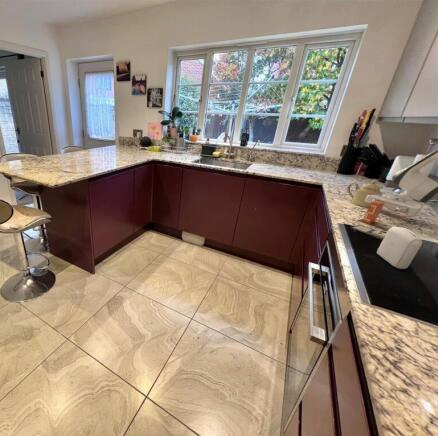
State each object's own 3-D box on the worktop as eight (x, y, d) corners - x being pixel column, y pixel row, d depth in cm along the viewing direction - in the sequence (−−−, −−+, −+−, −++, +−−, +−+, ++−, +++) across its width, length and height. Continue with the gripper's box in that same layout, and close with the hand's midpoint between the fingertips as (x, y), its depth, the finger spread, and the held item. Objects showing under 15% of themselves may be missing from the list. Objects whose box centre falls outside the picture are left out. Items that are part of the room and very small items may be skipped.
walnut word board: (413, 236, 101) (415, 232, 100) (405, 239, 98) (407, 236, 97) (364, 219, 115) (366, 216, 114) (355, 222, 112) (357, 218, 111)
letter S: (374, 222, 111) (384, 202, 106) (369, 223, 109) (379, 204, 104) (367, 219, 113) (376, 200, 109) (361, 221, 111) (371, 201, 107)
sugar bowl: (343, 203, 137) (354, 178, 130) (342, 198, 145) (352, 174, 139) (377, 209, 129) (390, 183, 123) (373, 203, 138) (385, 179, 131)
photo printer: (373, 252, 87) (389, 222, 82) (386, 253, 87) (403, 224, 81) (394, 268, 78) (413, 236, 73) (409, 270, 78) (429, 238, 72)
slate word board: (410, 245, 93) (413, 241, 93) (401, 249, 90) (404, 245, 89) (358, 226, 108) (360, 222, 107) (349, 229, 105) (351, 225, 104)
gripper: (375, 190, 125) (362, 193, 119) (429, 204, 108) (416, 207, 102) (370, 201, 127) (356, 204, 122) (421, 216, 111) (409, 220, 105)
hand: (384, 206), depth 112 cm, fingers open, 8 cm apart
